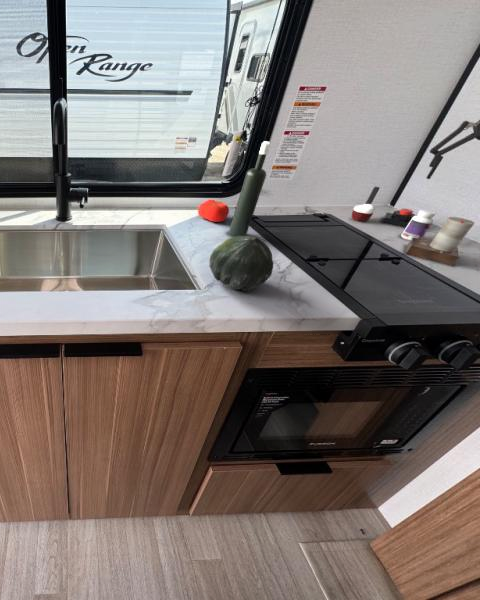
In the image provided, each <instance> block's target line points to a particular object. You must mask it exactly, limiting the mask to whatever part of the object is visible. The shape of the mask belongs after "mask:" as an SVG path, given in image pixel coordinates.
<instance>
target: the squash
mask: <svg viewBox="0 0 480 600" xmlns="http://www.w3.org/2000/svg"><path fill="white" fill-rule="evenodd" d="M208 262H209V269H210V271H211V273H212V275H213V277H214V278H215V280H216V281H220V282H221V283H222V284H223V285H228V287H229V288H230V289H231V290H233V291H239V290H241V291H244V292H248V291H251V290H253V289H255V288H256V287H259V286H261V285H262V284H264V283H265V282H267V281H268V280H269V279H270V278H271V276H272V273H273V269H274V261H273V254H272V250H271V248H270V247H269V246H268V245H267V244H266V242H264V241H263V240H262V239H260V238H259V237H257V236H253V235H246V236H234V237H233V236H230V237H229V238H227V239H225V240H224V241H223V242H222V243H221V244H220V245H217V246H216V248H214V249H213V251H212V252H211V254H210V257H209V261H208ZM245 290H246V291H245Z"/></svg>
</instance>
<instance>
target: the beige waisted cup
mask: <svg viewBox="0 0 480 600" xmlns="http://www.w3.org/2000/svg"><path fill="white" fill-rule="evenodd" d="M474 225H475V222H474V221H472V220H471V219H467V218H464V217H458V216H457V217H456V216H449V217H448V218H447V219H446V221H445V222H444V223H443V225H442V226H441V228H440V229H439V231H438V232H437V233H436V235H435V236H434V237H433V239H432V240H431V241H432V242H431V243H430V247H432V248H434V249H437V250H440V251H445V252H453V251H454V249H455V248H456V247H458V246H459V245H460V243H461V242H462V240H463V239H464V238H465V236H466V235H467V234H468V233H469V231H471V229H472V227H474Z"/></svg>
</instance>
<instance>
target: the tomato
mask: <svg viewBox="0 0 480 600" xmlns="http://www.w3.org/2000/svg"><path fill="white" fill-rule="evenodd" d="M197 214H198V215H199V217H201V218H203V219H205V220H208V221H210V222H213V223H216V222H218V223H220V222H221V223H222V222H223V221H225V220H226V219H227V218H228V216H229V214H230V207H229V206H228V205H227V204H226V203H224V202H222V201H220V200H214V199H207V200H205V201H204V202H202V203H201V204H200V205H199V206H198V208H197Z"/></svg>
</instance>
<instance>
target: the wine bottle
mask: <svg viewBox="0 0 480 600" xmlns="http://www.w3.org/2000/svg"><path fill="white" fill-rule="evenodd" d="M270 144H271V143H270V141H267V140H265V141H264V140H263V142H261V146H260V150H259V152H258V155H257V160H256V163H255V166H254V167H253V168H250V169H248V171H246V173H245V177H244V180H243V183H242V187H241V190H240V193H239V197H238V200H237V203H236V206H235V210H234V213H233V216H232V220H231V223H230V226H229V229H228V233H227V234H228V235H229V236H230V237H234V236H247V233H248V230H249V227H250V225H251V222H252V219H253V216H254V213H255V210H256V207H257V204H258V201H259V198H260V195H261V192H262V189H263V186H264V185H265V184H264V183H265V182H266V178H267V172H266V170H265V169H264V168H263V165H264V163H265V159H266V156H267V155H268V152H269V148H270V146H271V145H270Z"/></svg>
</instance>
